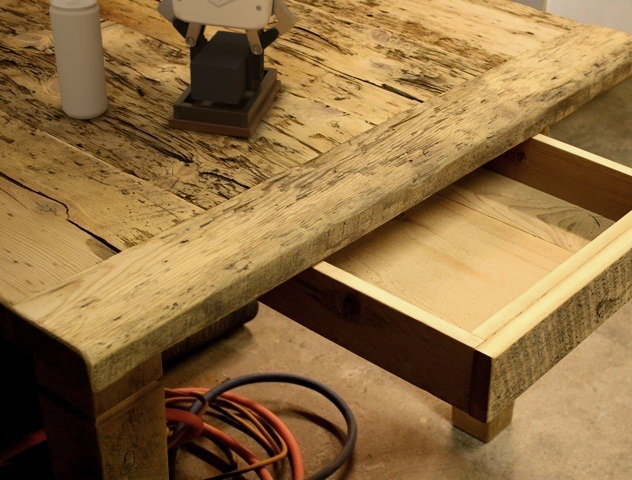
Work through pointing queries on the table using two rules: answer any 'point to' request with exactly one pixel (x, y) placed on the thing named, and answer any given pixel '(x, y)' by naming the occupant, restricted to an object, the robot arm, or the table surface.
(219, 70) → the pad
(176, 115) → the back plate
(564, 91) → the table surface
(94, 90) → the beverage can
